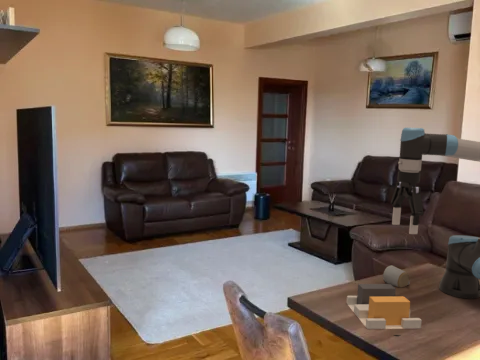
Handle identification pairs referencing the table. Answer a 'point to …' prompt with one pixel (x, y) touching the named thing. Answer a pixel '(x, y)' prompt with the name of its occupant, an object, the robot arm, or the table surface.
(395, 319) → the tall orange brick
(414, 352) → the table surface
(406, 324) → the rack
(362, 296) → the dark gray brick
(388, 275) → the ceramic mug
